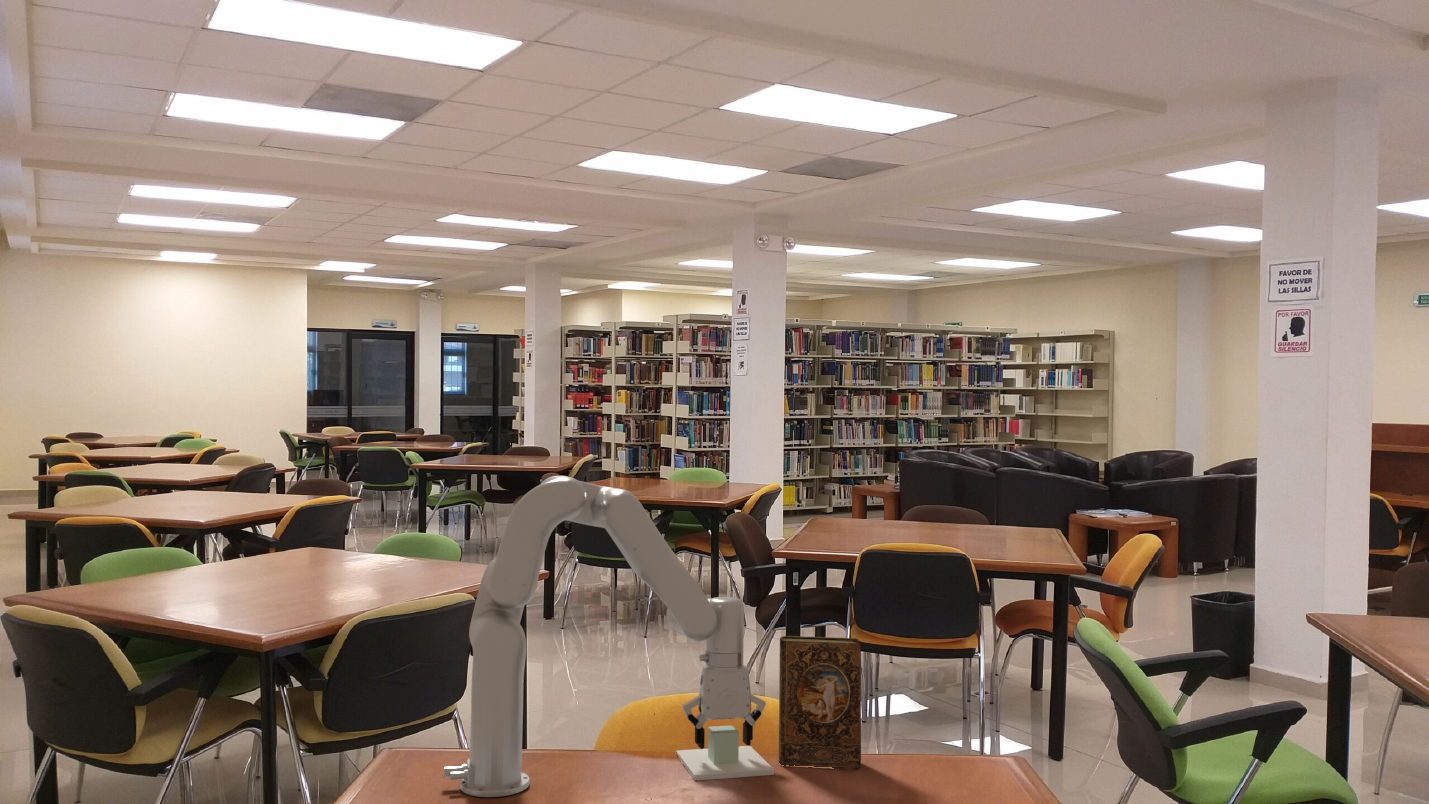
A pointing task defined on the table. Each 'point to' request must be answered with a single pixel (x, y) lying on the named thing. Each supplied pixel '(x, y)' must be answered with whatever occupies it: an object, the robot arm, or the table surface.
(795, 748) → the book
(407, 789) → the table surface
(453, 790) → the table surface
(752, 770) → the pale board
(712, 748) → the block
